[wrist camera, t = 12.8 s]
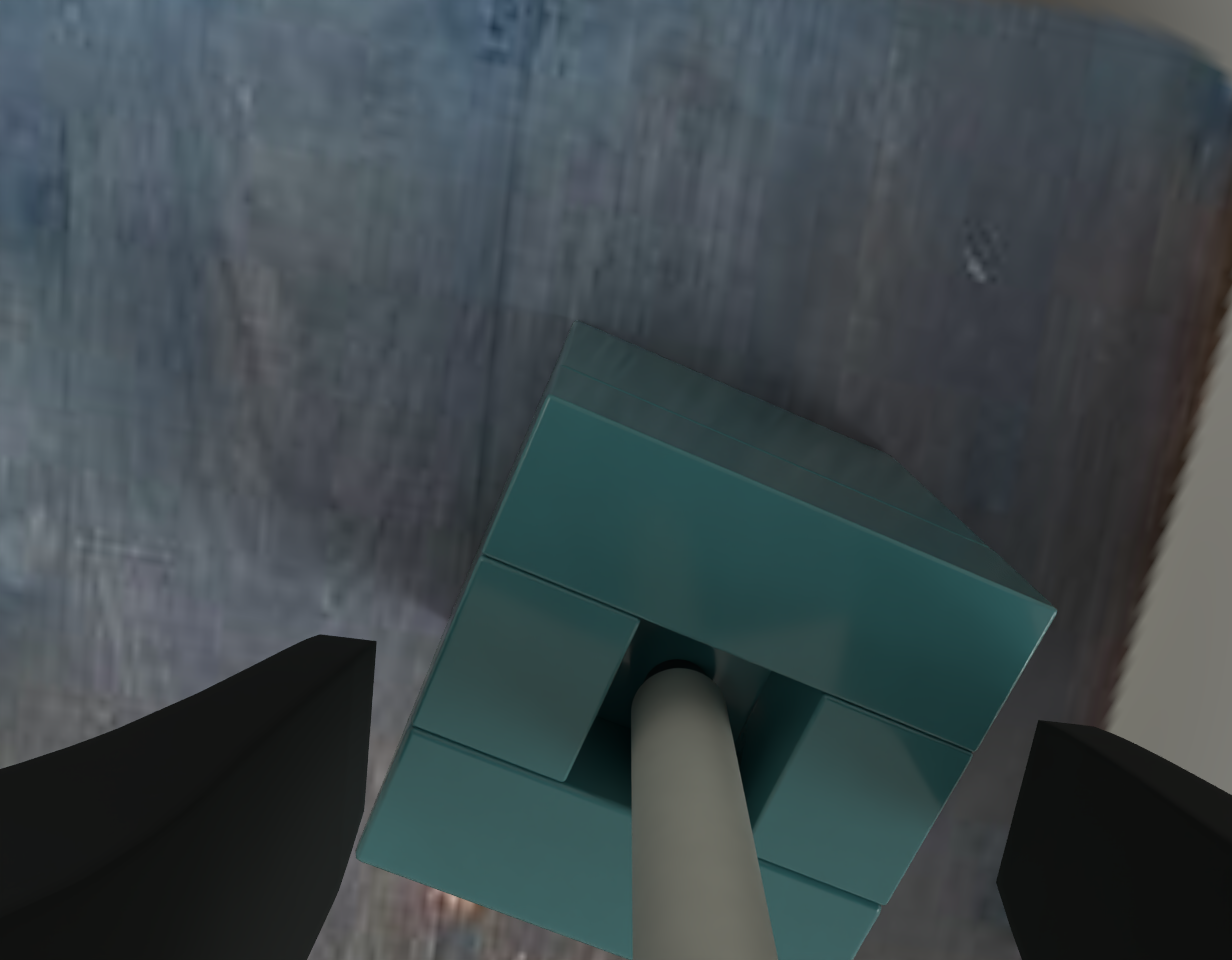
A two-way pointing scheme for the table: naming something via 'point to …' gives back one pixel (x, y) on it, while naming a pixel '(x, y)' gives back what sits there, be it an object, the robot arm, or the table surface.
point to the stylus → (691, 827)
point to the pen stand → (700, 655)
